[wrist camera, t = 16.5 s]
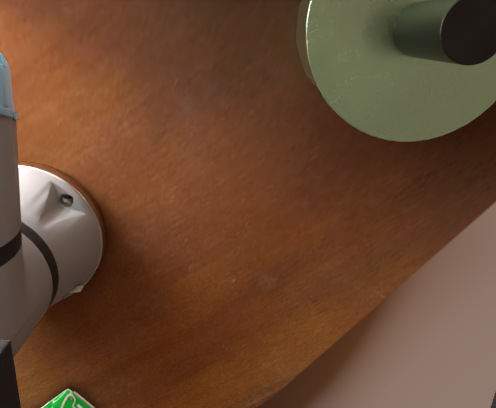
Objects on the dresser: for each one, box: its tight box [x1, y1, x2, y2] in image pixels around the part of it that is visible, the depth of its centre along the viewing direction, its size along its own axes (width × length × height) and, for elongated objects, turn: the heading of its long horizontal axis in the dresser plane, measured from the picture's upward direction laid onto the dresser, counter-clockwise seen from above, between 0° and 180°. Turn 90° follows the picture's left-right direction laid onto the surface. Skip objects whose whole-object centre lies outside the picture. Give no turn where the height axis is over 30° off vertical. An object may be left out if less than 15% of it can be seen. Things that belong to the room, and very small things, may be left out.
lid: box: [305, 0, 496, 142], centre depth 28 cm, size 16×16×9 cm
